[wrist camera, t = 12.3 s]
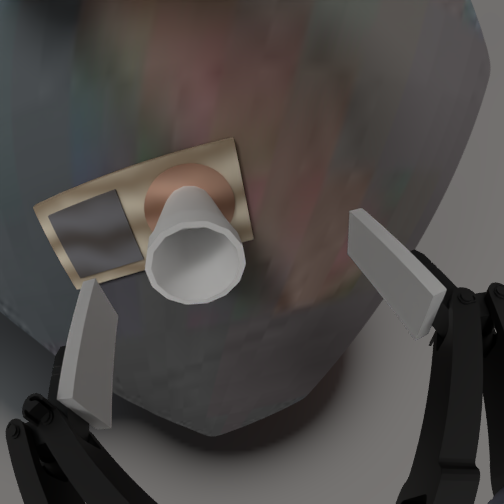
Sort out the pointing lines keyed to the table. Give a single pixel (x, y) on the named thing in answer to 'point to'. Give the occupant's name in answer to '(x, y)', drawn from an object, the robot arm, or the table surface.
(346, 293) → the table surface
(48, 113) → the table surface
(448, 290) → the robot arm
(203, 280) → the foam cup
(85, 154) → the table surface
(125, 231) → the sorting board
